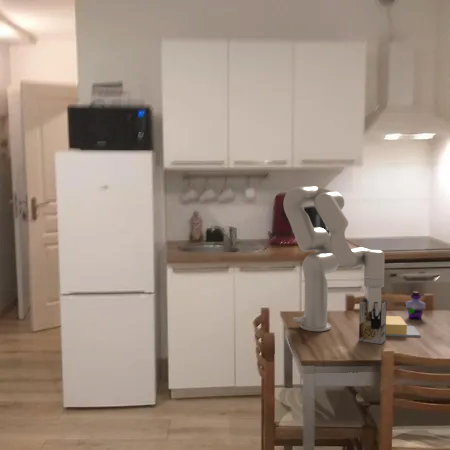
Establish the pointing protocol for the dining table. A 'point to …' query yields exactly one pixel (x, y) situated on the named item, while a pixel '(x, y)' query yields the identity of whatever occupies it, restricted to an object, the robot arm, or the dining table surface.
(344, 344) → the dining table surface
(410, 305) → the potion bottle
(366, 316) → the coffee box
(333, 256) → the robot arm
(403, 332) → the butter on tray
